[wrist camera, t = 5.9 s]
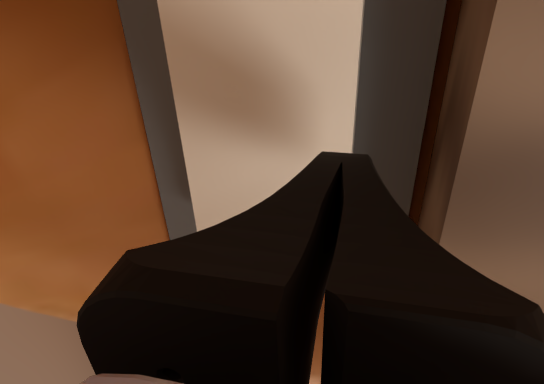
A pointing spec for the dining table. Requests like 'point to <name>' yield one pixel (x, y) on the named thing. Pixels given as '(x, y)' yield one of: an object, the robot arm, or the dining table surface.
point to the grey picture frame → (370, 101)
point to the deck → (492, 147)
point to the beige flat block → (259, 93)
